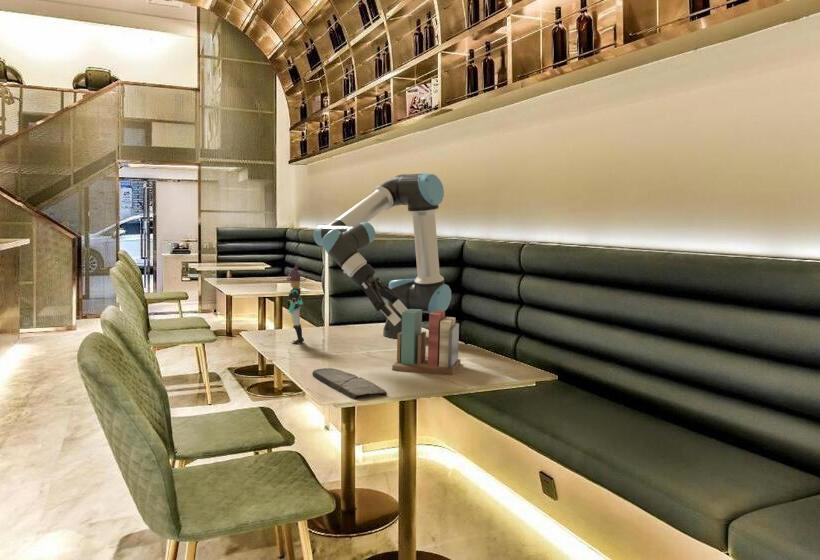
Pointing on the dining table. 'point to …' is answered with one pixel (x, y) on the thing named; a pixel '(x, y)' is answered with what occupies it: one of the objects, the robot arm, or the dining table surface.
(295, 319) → the figurine
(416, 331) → the book
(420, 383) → the dining table surface
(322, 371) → the stone slab
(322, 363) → the dining table surface
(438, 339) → the book rack
